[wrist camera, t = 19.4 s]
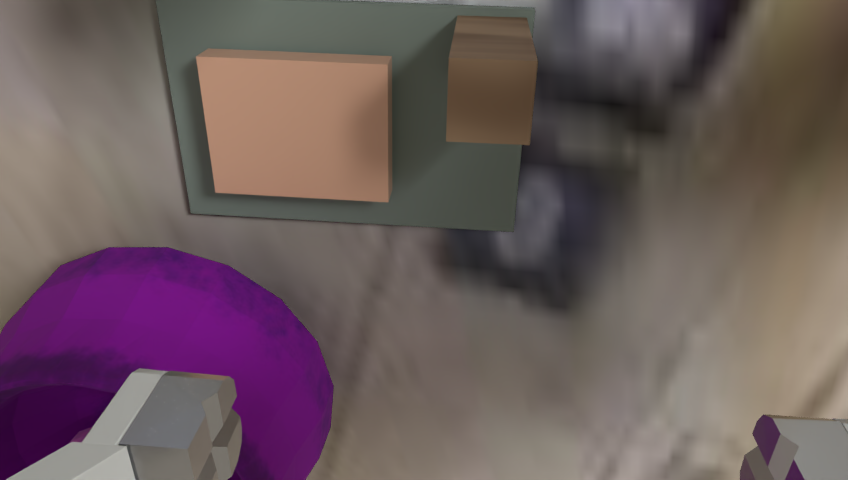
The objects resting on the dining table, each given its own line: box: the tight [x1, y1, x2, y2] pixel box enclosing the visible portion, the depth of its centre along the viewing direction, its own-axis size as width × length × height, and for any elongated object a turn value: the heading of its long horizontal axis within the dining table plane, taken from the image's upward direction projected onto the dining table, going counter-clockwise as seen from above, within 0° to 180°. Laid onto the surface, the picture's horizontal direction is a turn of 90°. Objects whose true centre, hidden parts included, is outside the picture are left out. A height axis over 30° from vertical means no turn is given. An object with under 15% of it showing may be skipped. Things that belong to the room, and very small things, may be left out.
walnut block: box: [446, 15, 538, 145], centre depth 28 cm, size 3×3×8 cm
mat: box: [156, 0, 535, 232], centre depth 34 cm, size 18×12×1 cm, turn 89°
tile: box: [196, 48, 392, 202], centre depth 33 cm, size 2×7×9 cm
